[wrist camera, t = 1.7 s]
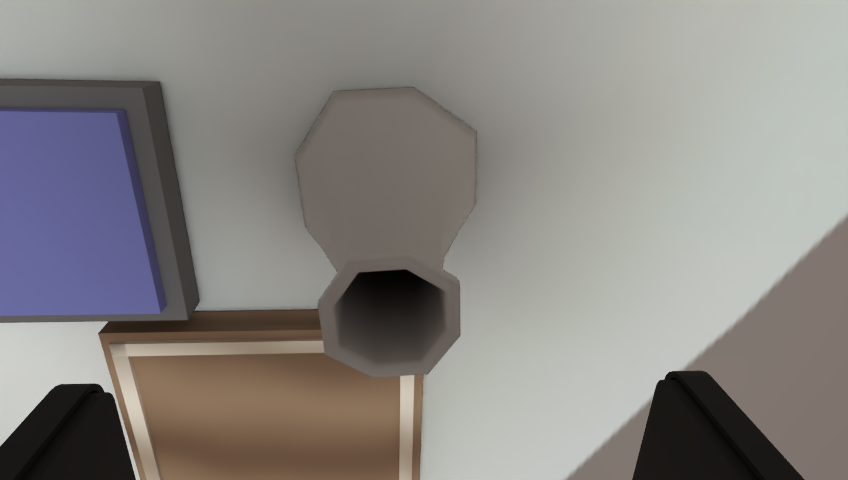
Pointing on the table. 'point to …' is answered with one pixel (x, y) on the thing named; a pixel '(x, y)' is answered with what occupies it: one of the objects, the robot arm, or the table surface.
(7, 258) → the ink pad
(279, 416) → the marked board
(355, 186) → the flask
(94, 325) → the table surface
